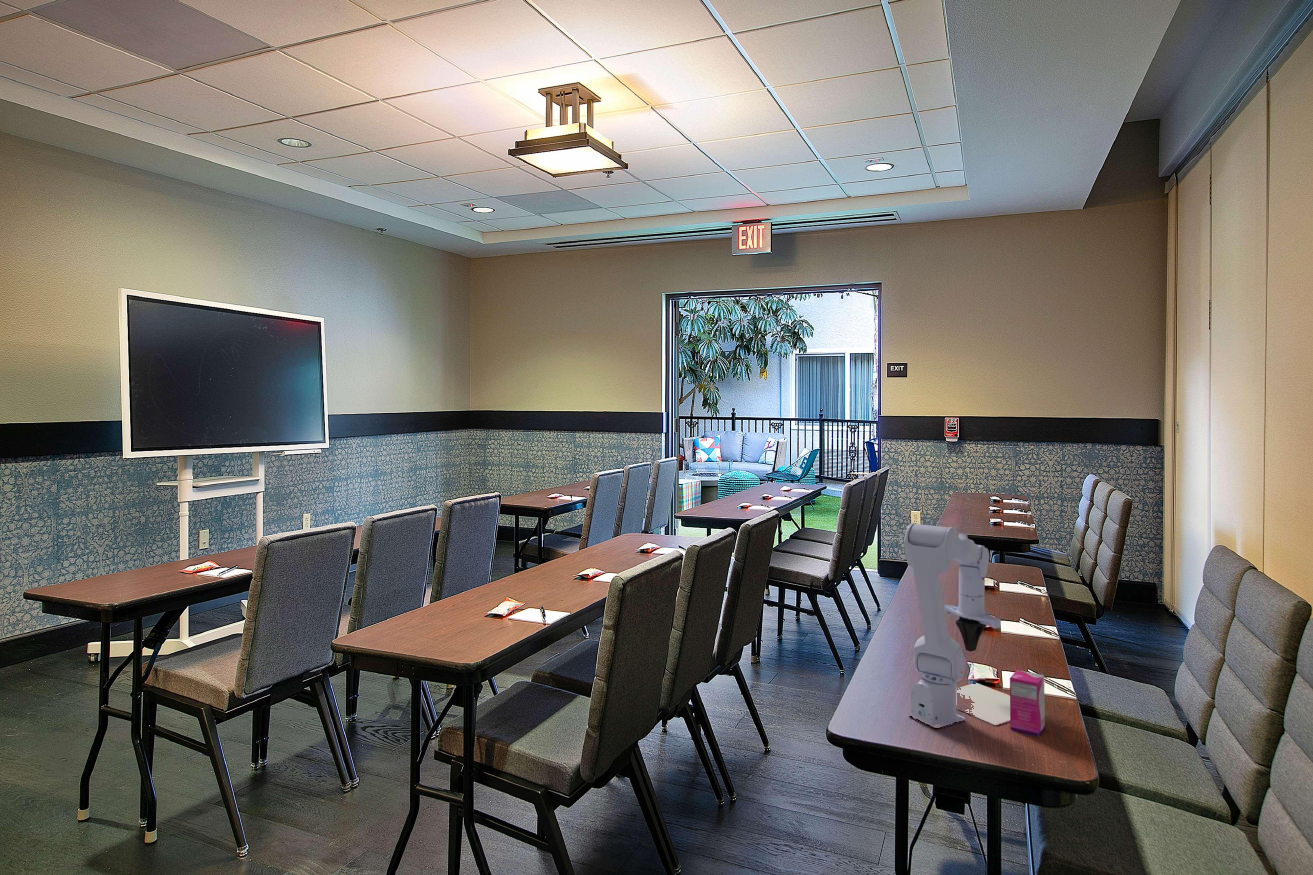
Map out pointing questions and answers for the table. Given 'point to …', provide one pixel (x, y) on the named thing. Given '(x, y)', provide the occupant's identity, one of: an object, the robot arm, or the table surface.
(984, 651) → the table surface
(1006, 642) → the table surface
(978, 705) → the grey mat
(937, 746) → the table surface
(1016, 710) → the supplement box
